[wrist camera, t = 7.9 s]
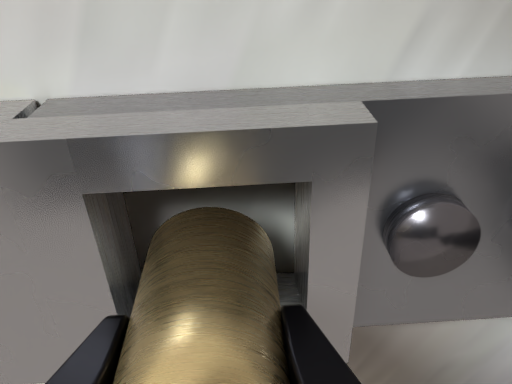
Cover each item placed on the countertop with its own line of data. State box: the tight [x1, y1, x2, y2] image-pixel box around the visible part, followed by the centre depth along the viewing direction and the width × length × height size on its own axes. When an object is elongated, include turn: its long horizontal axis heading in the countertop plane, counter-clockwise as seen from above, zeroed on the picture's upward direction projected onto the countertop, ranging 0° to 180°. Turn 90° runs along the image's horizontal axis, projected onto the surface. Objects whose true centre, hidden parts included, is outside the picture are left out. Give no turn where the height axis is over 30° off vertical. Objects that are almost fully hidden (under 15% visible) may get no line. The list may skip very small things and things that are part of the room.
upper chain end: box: [0, 100, 378, 384], centre depth 10 cm, size 7×14×3 cm, turn 92°
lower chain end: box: [27, 76, 512, 327], centre depth 11 cm, size 7×14×2 cm, turn 92°
